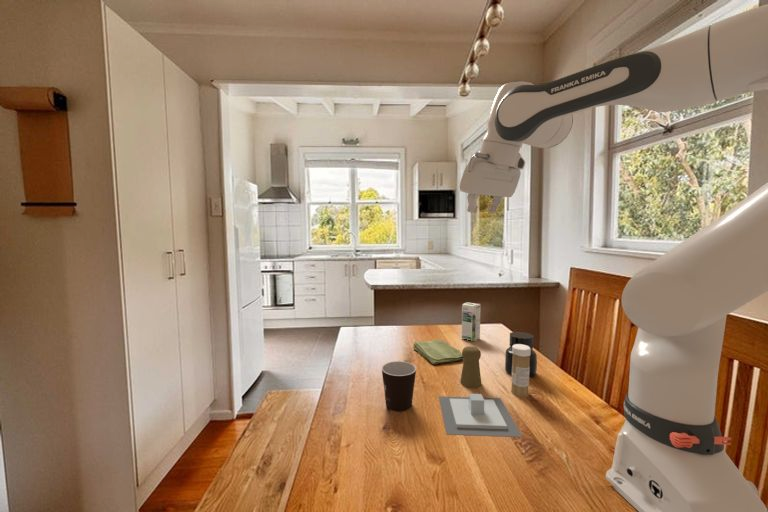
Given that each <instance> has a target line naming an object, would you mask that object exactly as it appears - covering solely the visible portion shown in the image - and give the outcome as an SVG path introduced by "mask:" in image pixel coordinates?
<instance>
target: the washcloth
mask: <svg viewBox="0 0 768 512" xmlns="http://www.w3.org/2000/svg"><path fill="white" fill-rule="evenodd" d="M412 347H413V349H414V351H416V352H417V353H418V354H419V355H421V357H424V359H426V360H427V361H429V362H430V364H433V365H434V366H435V365H439V363H440V364H444V362H446V363H451V362H456V361H461V360H460V359H463V360H464V358H463V356H462V351H460V350H459V349H457V348H455V347H454V346H452V345H450V344H449V343H448V342H447V341H444V340H443V339H432V340H428V341H424V340H423V341H422V340H421V341H415V342H414V343H413V346H412Z"/></svg>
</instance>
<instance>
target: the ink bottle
mask: <svg viewBox="0 0 768 512" xmlns="http://www.w3.org/2000/svg"><path fill="white" fill-rule="evenodd" d="M515 344H523V345H527V346H529V347H530V348H531V355H530V363H529V366H530V371H529V379H532V378H534V377H536V375H537V366H538V365H537V364H538V363H537V362H538V361H537V358H538V356H537V353H536V351H535V350H534V349H533V348H534V335H533V334H532V333H528V332H525V331H523V332H522V331H512V332H510V333H509V347H508V348H506V349H505V360H504V361H505V365H504V370H505V372H506V373H507V374H508V375H510V376H512V360H513V354H512V346H513V345H515Z"/></svg>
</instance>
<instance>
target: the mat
mask: <svg viewBox="0 0 768 512" xmlns="http://www.w3.org/2000/svg"><path fill="white" fill-rule="evenodd" d="M449 399H469V396H441V395H439V396H438V401H439V405H440V409H441V415H442V420H443V424H444V429H445V434H446V435H448V436H449V435H450V436H451V435H452V436H477V437H479V436H480V437H505V438H507V437H508V438H523V434H522V433H521V431H520V430H519V428H518V426H517V425H516V422H515V421H514V419H513V417H512V416H511V414H510V412H509V410H508V409H507V407H506V406H505V405H506V404H505V403H504V402H503V400H502V398H501V397H483V399H484V400H494V402H495V404H496V406H497V408H498V410H499V412H500V413H501V415H502V417H503V419H504V421H505V423H506V425H507V429H481V428H456V424H455V421H454V417H453V413H452V409H451V406H450V402H449Z"/></svg>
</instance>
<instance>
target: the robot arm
mask: <svg viewBox="0 0 768 512" xmlns="http://www.w3.org/2000/svg"><path fill="white" fill-rule="evenodd" d="M759 91H760V92H761V91H768V3H767V4H763V5H761V6H757V7H754V8H751V9H749V10H746V11H745V10H744V11H743V12H740V13H737V14H735V15H731V16H729V17H726V18H723V19H721V20H719V21H715V22H714V23H712V24H710V25H706V26H704V27H702V28H700V29H696V30H694V31H692V32H689V33H687V34H684V35H683V36H679V37H677V38H674V39H672V40H669V41H667V42H664V43H661V44H658V45H656V46H654V47H650V48H647V49H644V50H641V51H637V52H634V53H631V54H627V55H625V56H621V57H617V58H615V59H612V60H611V59H610V60H608V61H605V62H602V63H600V64H597V65H594V66H592V67H589V68H586V69H583V70H580V71H577V72H575V73H572V74H570V75H567V76H563V77H561V78H557V79H556V80H552V81H550V82H545V83H542V84H533V82H530V81H527V80H513V81H509V82H507V83H505V84H503V85H502V86H501V87H499V89H498V91H497V94H496V95H495V97H494V100H493V103H492V105H491V108H490V111H489V116H488V119H487V128H486V133H485V135H484V137H483V138H482V140H481V141H482V142H481V145H480V149H479V151H478V152H475V153H474V154H473V155H472V156H471V157H470V159H469V161H468V162H467V163H466V165H465V168H464V170H463V173H462V175H461V179H460V182H459V190H460V192H463V193H466V194H467V205H468V206H467V208H466V209H467V210H466V211H467V212H469V213H471V214H475V213H477V211H478V208H479V206H478V205H477V200H478V199H479V197H480V196H479V195H481V196H490V197H491V196H492V197H493V198H492V199H493V201H492V202H491V205H489V206H488V208H487V209H488V210H487V212H488V213H490V214H497V211H498V209H499V207H500V205H501V204H502V202H503V201H504V198H511V197H512V196H513V195H514V194H515V193H516V190H517V188H518V185H519V184H518V183H519V181H520V177H521V170H524V168H525V166H526V161H525V159H524V158H523V157H522V154H521V153H520V150H521V147H522V145H523V144H525V145H528V146H531V147H535V148H539V149H546V148H547V149H548V148H549V149H550V148H553V147H555V146H558V145H559V144H561V143H562V142H563V141H564V140H565V139H566V138H567V137H568V135H569V134H570V131H571V130H572V127H573V122H574V117H573V115H575V114H577V113H580V112H584V111H587V110H590V109H595V108H598V107H602V106H603V107H604V106H628V107H634V108H640V109H643V110H647V111H648V110H649V111H653V112H658V113H668V112H676V111H683V110H690V109H694V108H698V107H703V106H706V105H709V104H714V103H716V102H721V101H724V100H727V99H730V98H734V97H738V96H740V95H741V96H742V95H744V94H745V95H746V94H748V93H753V92H759ZM767 292H768V182H766V183H765V184H763V185H762V186H760V187H759V188H757V189H756V190H755V191H754V192H752V193H751V194H749V195H748V196H747V197H746V198H743V200H741V201H740V202H738V203H737V204H736V205H734V206H733V207H732V208H730V209H729V210H728V211H726V212H725V213H723V214H722V215H720V216H719V217H718V218H717V219H715V220H713V221H712V222H711V223H709V224H708V225H706V226H705V227H703V228H702V229H700V230H698V231H697V232H695V233H694V234H692V235H691V236H689V237H687V238H686V239H685V240H683V241H682V242H680V243H679V244H677V245H676V246H674V247H673V248H671V249H669V250H668V251H667V252H665V253H663V254H662V255H661V256H659V257H658V258H656V259H655V260H653V261H651V263H649V264H648V265H646V266H645V267H643V268H641V270H639V271H638V272H635V274H634V275H633V276H632V277H631V278H630V279H629V280H628V281H627V282H626V284H625V287H624V288H623V290H622V294H621V306H622V309H623V313H624V314H625V315H626V317H627V318H628V319H629V321H631V323H632V324H633V325H635V326H636V327H637V332H636V336H635V340H634V344H633V347H632V350H631V352H630V356H629V357H630V358H629V359H630V360H629V377H628V378H629V380H628V392H627V393H626V394H625V397H624V401H623V416H624V418H625V421H624V422H623V425H622V427H621V429H620V431H619V432H618V434H617V438H616V443H615V448H614V452H613V453H614V455H613V460H612V465H611V467H610V468H609V469H608V470H607V471H606V472H605V479H606V480H607V481H608V482H609V483H610V484H611V487H612V488H613V489H614V490H615V491H616V492H617V493H618V494H620V495H621V497H623V498H624V499H625V500H626V501H627V502H628V503H629V504H630V505H631V506H632V507H633V508H635V510H636V511H638V512H768V508H767V506H766V504H765V503H764V501H762V499H761V498H760V497H759V491H758V488H757V487H756V485H755V484H754V483H753V482H752V481H751V480H747V479H746V478H745V476H743V474H742V472H741V471H740V470H739V469H738V467H737V466H736V465H735V463H734V462H733V460H732V459H731V458H730V457H729V455H728V453H726V451H725V445H728V446H729V445H730V446H731V445H732V443H731V442H728V441H731V440H732V437H730V436H723V435H722V432H721V429H720V425H719V423H718V419H717V417H716V416H715V413H716V403H717V402H716V401H717V389H718V388H717V387H718V375H719V368H720V367H719V366H720V362H721V356H722V350H723V343H724V336H725V331H726V330H725V329H726V324H727V323H726V322H727V316H728V315H729V314H731V313H733V312H735V311H736V310H738V309H740V308H742V307H743V306H745V305H747V304H748V303H750V302H752V301H754V300H755V299H757V298H759V297H761V296H762V295H764V294H765V293H767Z"/></svg>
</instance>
